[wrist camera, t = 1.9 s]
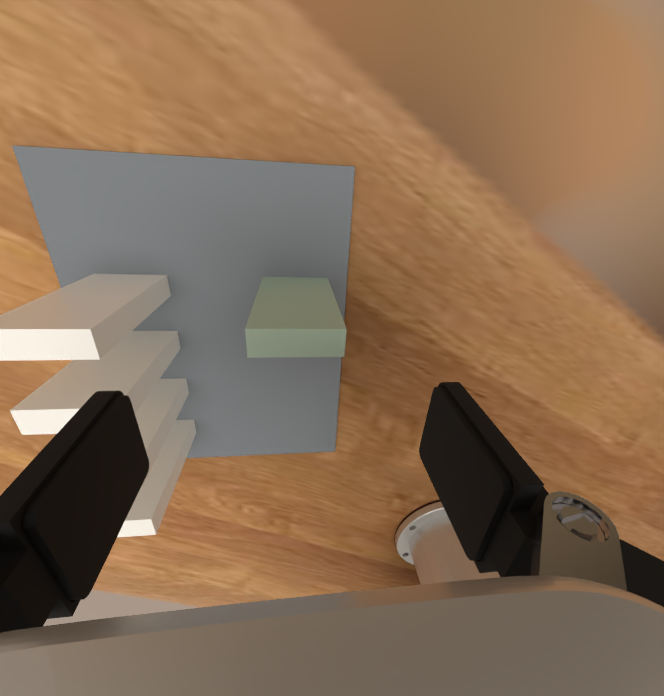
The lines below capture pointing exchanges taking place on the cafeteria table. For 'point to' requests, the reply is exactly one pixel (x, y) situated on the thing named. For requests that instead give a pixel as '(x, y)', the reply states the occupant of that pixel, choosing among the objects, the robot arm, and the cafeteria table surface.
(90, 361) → the domino
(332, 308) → the domino end
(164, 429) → the domino
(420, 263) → the cafeteria table surface
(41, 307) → the domino
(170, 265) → the slate mat
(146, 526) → the domino
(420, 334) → the cafeteria table surface
